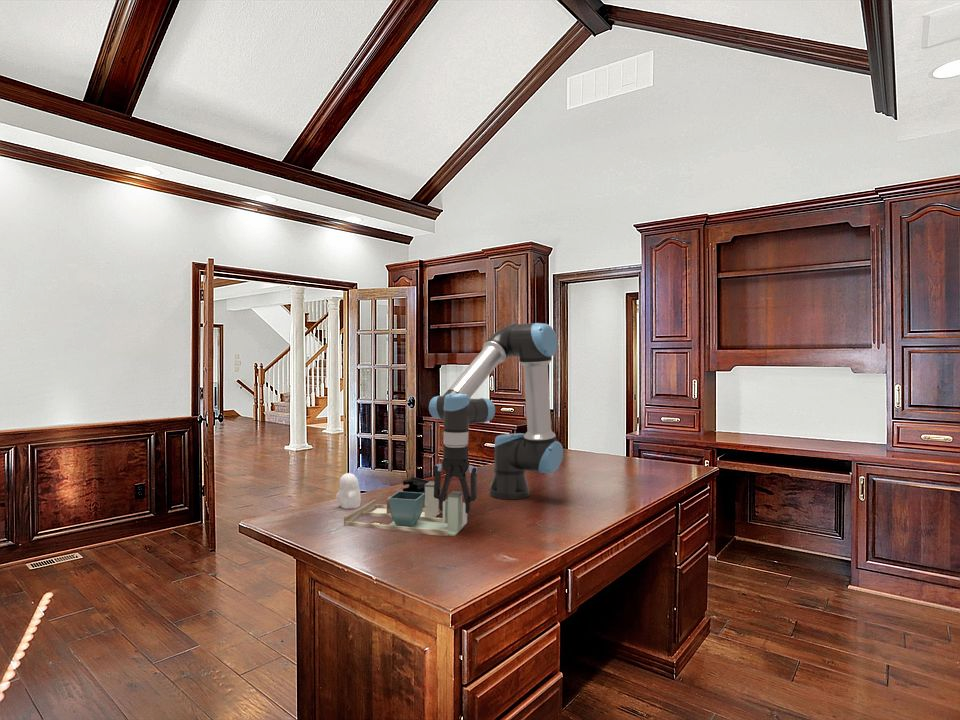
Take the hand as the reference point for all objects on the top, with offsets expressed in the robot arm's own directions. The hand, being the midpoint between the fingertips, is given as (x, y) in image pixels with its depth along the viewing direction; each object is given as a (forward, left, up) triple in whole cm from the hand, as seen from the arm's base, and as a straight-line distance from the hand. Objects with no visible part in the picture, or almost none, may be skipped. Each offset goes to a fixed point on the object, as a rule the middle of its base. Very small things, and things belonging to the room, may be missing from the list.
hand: (454, 522), depth 168 cm
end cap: (+24, -35, -3) cm, 43 cm away
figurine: (+42, -14, -3) cm, 44 cm away
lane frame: (+16, -5, -2) cm, 17 cm away
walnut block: (+24, -11, -2) cm, 26 cm away
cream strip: (+20, -11, -2) cm, 23 cm away
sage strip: (+10, 0, -2) cm, 10 cm away
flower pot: (+15, 0, -2) cm, 15 cm away
